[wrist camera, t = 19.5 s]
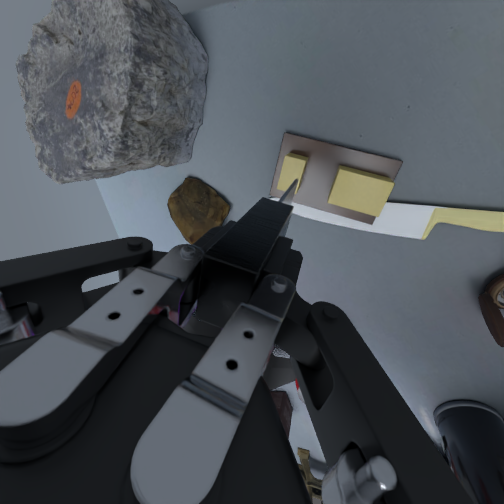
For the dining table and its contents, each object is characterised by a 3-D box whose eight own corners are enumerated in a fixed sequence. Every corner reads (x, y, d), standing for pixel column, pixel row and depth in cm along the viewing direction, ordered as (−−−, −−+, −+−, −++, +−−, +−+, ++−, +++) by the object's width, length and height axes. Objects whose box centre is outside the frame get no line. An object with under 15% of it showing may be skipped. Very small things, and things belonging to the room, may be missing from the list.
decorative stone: (164, 210, 42) (151, 217, 39) (191, 167, 37) (178, 171, 34) (212, 252, 43) (202, 262, 40) (244, 215, 38) (236, 224, 35)
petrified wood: (165, -36, 27) (11, -166, 15) (247, 116, 32) (180, 115, 19) (85, 82, 37) (-52, 62, 24) (156, 187, 41) (71, 217, 28)
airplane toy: (159, 382, 51) (148, 389, 48) (193, 273, 50) (184, 273, 47) (273, 451, 42) (269, 463, 40) (315, 320, 42) (314, 324, 39)
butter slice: (308, 157, 31) (306, 160, 28) (299, 188, 33) (296, 194, 30) (289, 152, 31) (285, 155, 29) (281, 183, 33) (276, 189, 31)
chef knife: (308, 178, 23) (257, 273, 8) (299, 209, 24) (241, 337, 10) (287, 172, 23) (201, 254, 8) (279, 203, 24) (194, 318, 10)
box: (260, 389, 56) (250, 423, 50) (286, 391, 53) (279, 426, 47) (268, 407, 58) (260, 441, 52) (293, 409, 56) (288, 446, 49)
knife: (268, 216, 38) (269, 185, 35) (552, 253, 29) (584, 216, 26) (266, 220, 37) (266, 188, 34) (559, 260, 28) (593, 222, 25)
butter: (390, 178, 29) (395, 183, 27) (375, 209, 31) (378, 217, 29) (339, 164, 30) (339, 169, 28) (327, 196, 32) (327, 202, 30)
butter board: (401, 160, 29) (403, 161, 28) (371, 222, 33) (372, 225, 32) (285, 132, 31) (284, 132, 30) (270, 193, 35) (269, 195, 34)
